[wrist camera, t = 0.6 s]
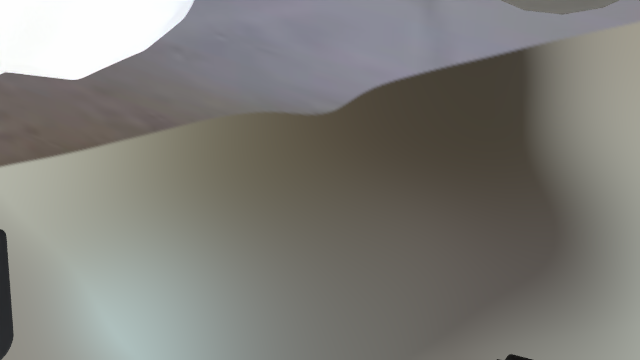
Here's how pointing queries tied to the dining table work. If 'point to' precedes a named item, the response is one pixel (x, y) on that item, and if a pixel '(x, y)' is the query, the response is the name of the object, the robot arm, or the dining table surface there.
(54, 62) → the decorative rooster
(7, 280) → the robot arm
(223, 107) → the dining table surface
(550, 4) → the chalice
